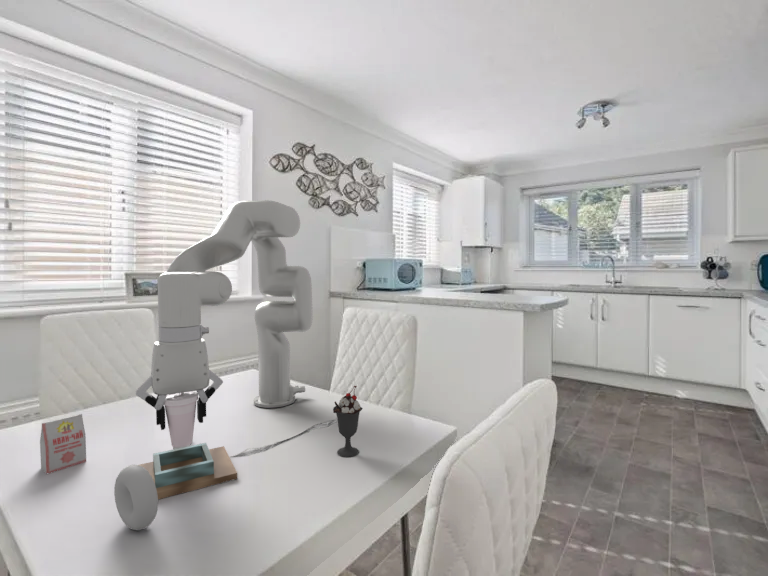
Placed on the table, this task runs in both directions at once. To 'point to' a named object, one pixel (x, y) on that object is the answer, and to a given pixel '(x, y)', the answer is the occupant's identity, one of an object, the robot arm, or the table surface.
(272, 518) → the table surface
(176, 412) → the smoothie
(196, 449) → the holder board
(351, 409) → the sundae
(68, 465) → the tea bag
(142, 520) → the donut
